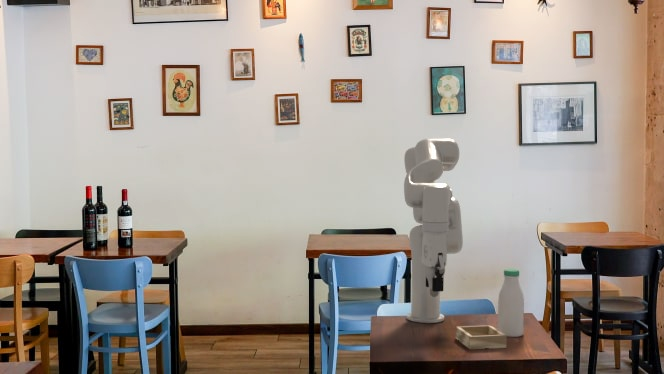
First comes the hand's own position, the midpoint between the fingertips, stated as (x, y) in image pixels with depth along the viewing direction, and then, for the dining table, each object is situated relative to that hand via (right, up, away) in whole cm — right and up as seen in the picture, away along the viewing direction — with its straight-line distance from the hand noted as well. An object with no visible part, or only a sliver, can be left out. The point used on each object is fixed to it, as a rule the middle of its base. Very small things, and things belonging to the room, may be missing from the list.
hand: (434, 288), depth 211 cm
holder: (+14, -16, +1) cm, 21 cm away
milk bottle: (+25, -16, +11) cm, 32 cm away
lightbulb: (0, -3, 0) cm, 3 cm away
